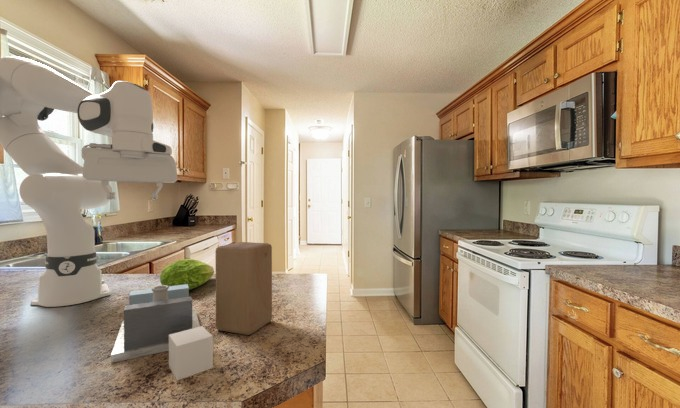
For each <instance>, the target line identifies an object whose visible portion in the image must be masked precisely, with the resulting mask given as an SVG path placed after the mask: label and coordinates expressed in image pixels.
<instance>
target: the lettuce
mask: <svg viewBox="0 0 680 408" xmlns="http://www.w3.org/2000/svg"><path fill="white" fill-rule="evenodd" d="M214 274H215V268H214V267H213V266H212V265H210V264H208V263H206V262H203V261H200V260H198V259H194V258H184V259H180V260H178V261H175V262H172V263H170V264H168V265H167V266H165V267H164V268H163V269H162V271H161V273H160V276H159V278H160V279H159V281H160V284H161V285H167V286H177V285H185V284H188V287H189V291H191V290H193V289H195V288H198V287H200V286H202V285H203V284H205V283H206V282H207V281H210V279H211V278H212V277H213V276H214Z"/></svg>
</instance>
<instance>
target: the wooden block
mask: <svg viewBox="0 0 680 408" xmlns="http://www.w3.org/2000/svg"><path fill="white" fill-rule="evenodd" d="M272 251H273V247H272V244H271V243H267V242H252V241H251V242H249V241H240V242H234V243H229V244H223V245H220V246H218V247H216V249H215V328H216V330H218V331H223V332H229V333H234V334H238V335H246V336H249V335H252V334H254V333H255V332H257V331H258V330H259V329H261V328H263V327H264V326H266V325H267V324H268V323H270V322H271V321H272V317H273V274H272V273H273V265H272V264H273V252H272Z"/></svg>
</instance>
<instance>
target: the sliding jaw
mask: <svg viewBox="0 0 680 408" xmlns="http://www.w3.org/2000/svg"><path fill="white" fill-rule="evenodd" d="M128 296H129V298H128V299H129V300H128V302H129V303H128V305H134V304H141V303H148V302H152V301H153V291H152V288H145V289H137V290H131V291H130V292H129V295H128ZM184 297H190V290H189V287H188V284H185V285H177V286H169V289H168V299H169V300H170V299H177V298H184Z"/></svg>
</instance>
